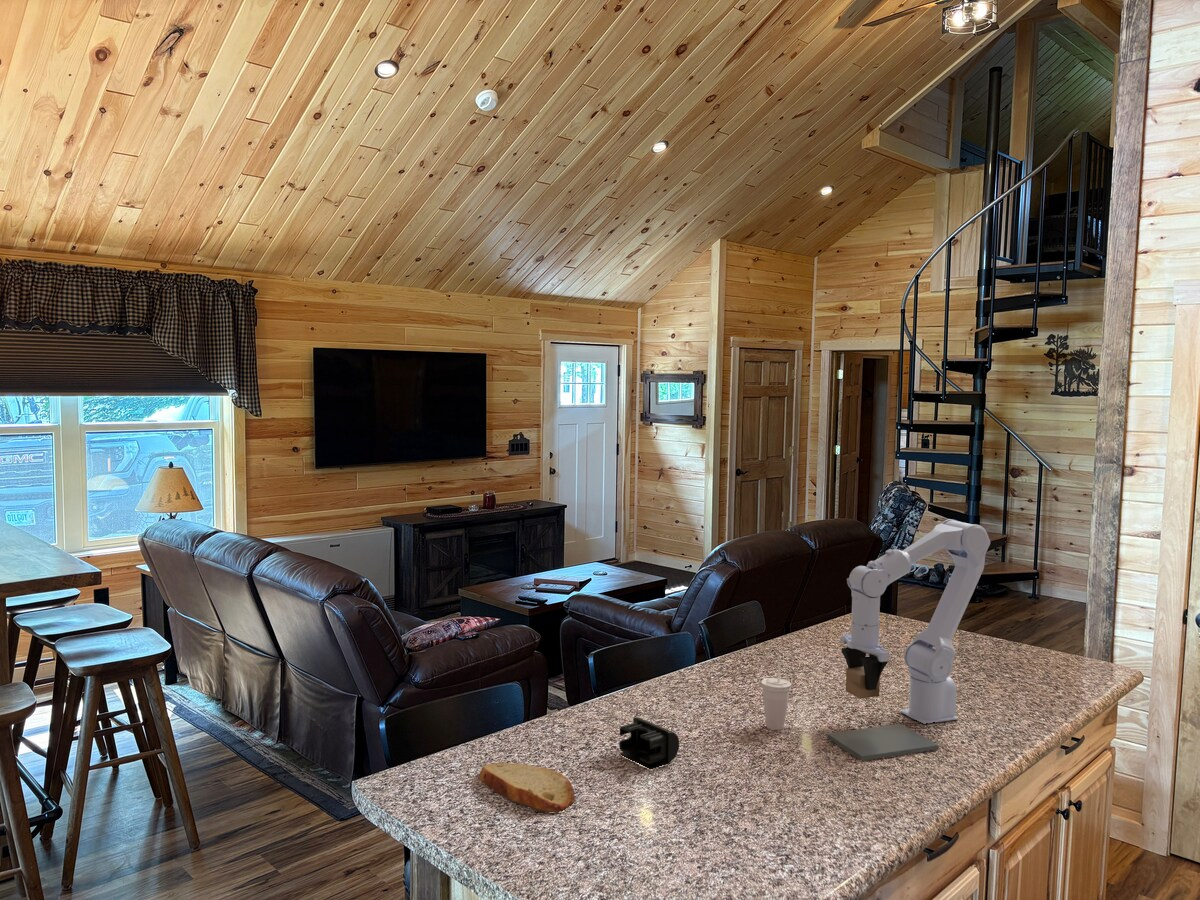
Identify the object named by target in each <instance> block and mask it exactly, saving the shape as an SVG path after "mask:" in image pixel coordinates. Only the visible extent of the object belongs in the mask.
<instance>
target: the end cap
mask: <svg viewBox="0 0 1200 900" xmlns="http://www.w3.org/2000/svg"><path fill="white" fill-rule="evenodd" d="M627 734H630V736H629V738H626V739H625V738H624V739H622V740H619V750H620V751H621V752H620V756H621V755H622V756H624V757H626V758H628V759H630V760H632V761H635V762H637V763H639V764H641V765H643V766H645V767H647V768H649V769H653V768H656V767H659V766H662V765H665V764H668V763H669V762H670V763H671V762H672V761H674V759H675V758H676V756H677V754H678V752H679V749H680V738H679V737H678V735H677V734H676V732H674V731H671V730H669V729H668V728H664V727H662V726H660V725H657V724H655V723H653V722H650V721H648V720H646V719H643V718H641V717H638V716H636V717H633V722H632V723H629V724H625V725H622V726H620V727H619V735H620V736H623V735H627ZM670 763H669V764H670ZM669 764H668V765H669Z"/></svg>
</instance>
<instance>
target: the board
mask: <svg viewBox="0 0 1200 900" xmlns="http://www.w3.org/2000/svg"><path fill="white" fill-rule="evenodd" d="M826 738H828V739H827V740H828V741H830V740H831V741H830V742H832V741H833V742H834V743H833V742H832V743H833V744H835V743H836V744H837V745H836V744H835V745H836V746H837V747H839V746H840V747H839V748H841V749H842V748H843V750H844V751H846V752H847V753H849V754H850V755H852V756H853V757H855V758H856V759H858V760H859V761H860V762H866V761H867V760H868V761H873V760H872V759H875V760H879V758H881V759H884V758H883V757H888V758H891V757H890V756H895V757H899V756H898V755H901V756H906V755H905V754H908V755H912V754H911V753H915V754H917V753H916V752H921V753H924V752H923V751H928V752H931V751H930V750H934V751H938V750H939V744H938V743H935V742H934V741H932V740H930V739H928V738H927V737H925V736H923V735H921V734H920V733H917V732H915V731H914V730H912V729H910V728H909V727H906V726H905V725H903V724H901V723H896V724H889V725H881V726H875V727H868V728H867V727H866V728H859V729H852V730H845V731H836V732H830V733H827V735H826ZM937 749H938V750H937ZM896 755H897V756H896Z"/></svg>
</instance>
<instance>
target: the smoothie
mask: <svg viewBox="0 0 1200 900" xmlns="http://www.w3.org/2000/svg"><path fill="white" fill-rule="evenodd" d="M760 687H761V689H762V699H763V709H764V717H765V727H766V728H767V729H768V730H773V731H781V730H784V728H785V723H786V722H785V721H786V716H787V711H788V710H787V709H788V701H789V696H790V690H791V689H792V683H791V682H790V681H789V680H787V679H784V678H781V662H779V661H777V677H767V678H763V679H762V680H761V681H760Z"/></svg>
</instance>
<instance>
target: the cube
mask: <svg viewBox="0 0 1200 900" xmlns="http://www.w3.org/2000/svg"><path fill="white" fill-rule="evenodd" d="M845 671H846V673H845V692H846V693H848V694H850V695H852V696H854V698H857V699H859V700H860V699H869V698H876V697H880V684H881V681H880V680H881V677H880V678H879V681H878V684H877V688H876V689H875V690H867V689H866V686H865V673H864V667H855V668H848V667H846V669H845Z"/></svg>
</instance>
